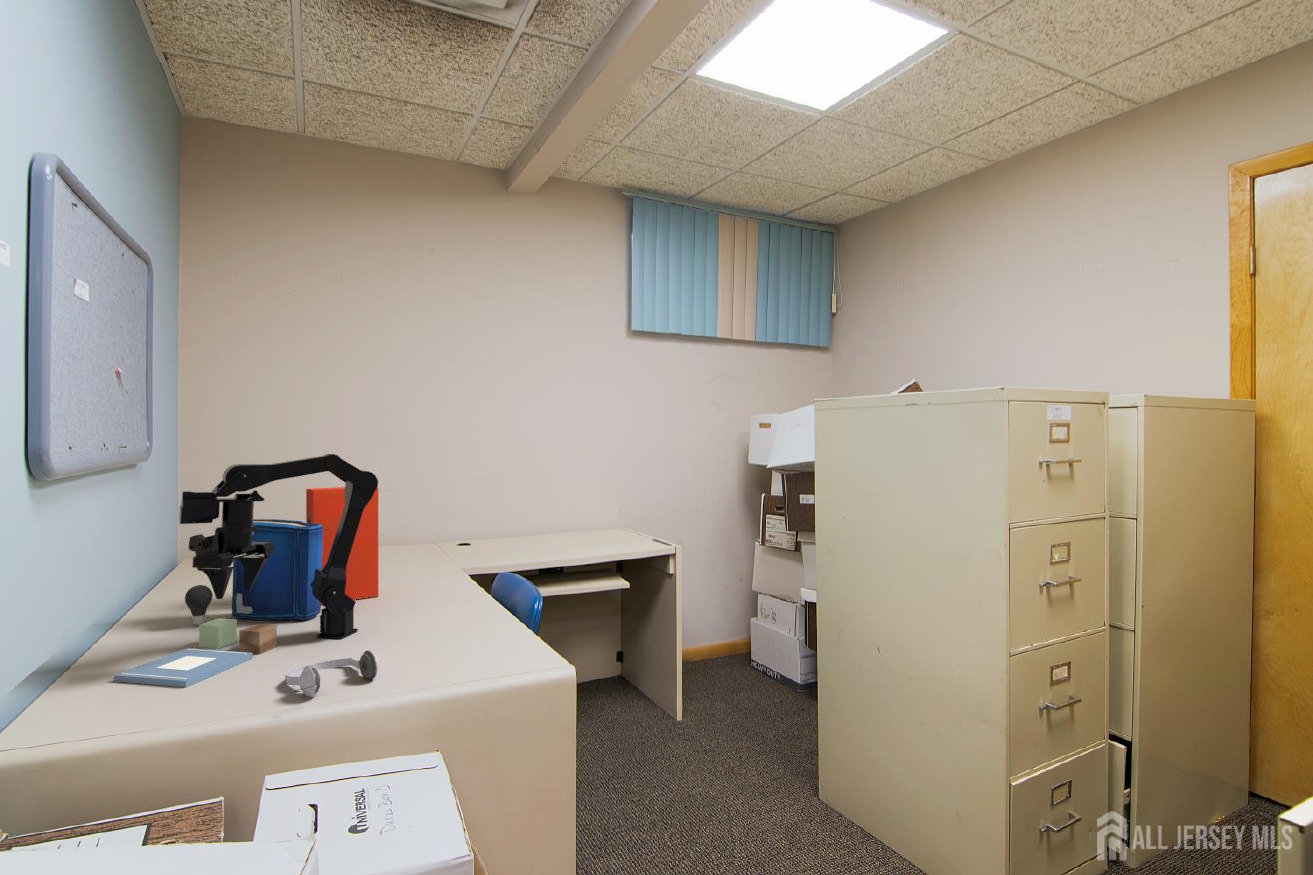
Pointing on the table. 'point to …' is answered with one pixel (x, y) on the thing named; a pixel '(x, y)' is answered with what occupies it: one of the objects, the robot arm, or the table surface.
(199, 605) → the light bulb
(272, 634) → the walnut block
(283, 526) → the book
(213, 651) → the board
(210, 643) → the green block
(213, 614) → the table surface
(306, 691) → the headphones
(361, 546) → the file binder
